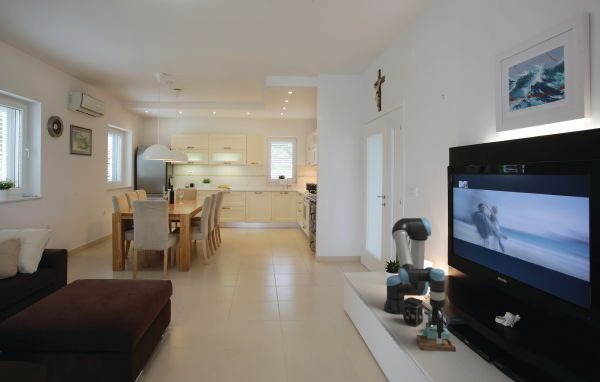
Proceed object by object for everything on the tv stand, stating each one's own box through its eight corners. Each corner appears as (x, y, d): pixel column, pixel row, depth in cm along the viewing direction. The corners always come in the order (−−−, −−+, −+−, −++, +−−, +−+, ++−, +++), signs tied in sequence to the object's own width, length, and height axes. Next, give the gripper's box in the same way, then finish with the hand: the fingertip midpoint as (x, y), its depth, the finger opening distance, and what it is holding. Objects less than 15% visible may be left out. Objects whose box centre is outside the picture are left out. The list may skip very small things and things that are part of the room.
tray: (416, 338, 199) (416, 334, 199) (448, 339, 197) (448, 336, 197) (421, 349, 186) (421, 345, 186) (455, 351, 184) (455, 347, 184)
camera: (408, 318, 227) (408, 295, 227) (423, 323, 220) (423, 299, 219) (400, 323, 220) (399, 299, 220) (415, 328, 213) (415, 303, 212)
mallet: (424, 330, 209) (424, 310, 209) (434, 331, 208) (434, 310, 208) (426, 334, 204) (426, 313, 204) (436, 334, 203) (436, 314, 203)
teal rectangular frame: (445, 333, 194) (445, 328, 194) (449, 339, 187) (449, 333, 187) (421, 332, 196) (421, 327, 195) (424, 338, 189) (424, 332, 189)
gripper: (425, 292, 201) (425, 332, 202) (434, 304, 181) (434, 348, 182) (439, 292, 200) (439, 332, 201) (450, 305, 180) (450, 349, 181)
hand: (437, 340), depth 191 cm, fingers closed on teal rectangular frame, 7 cm apart
